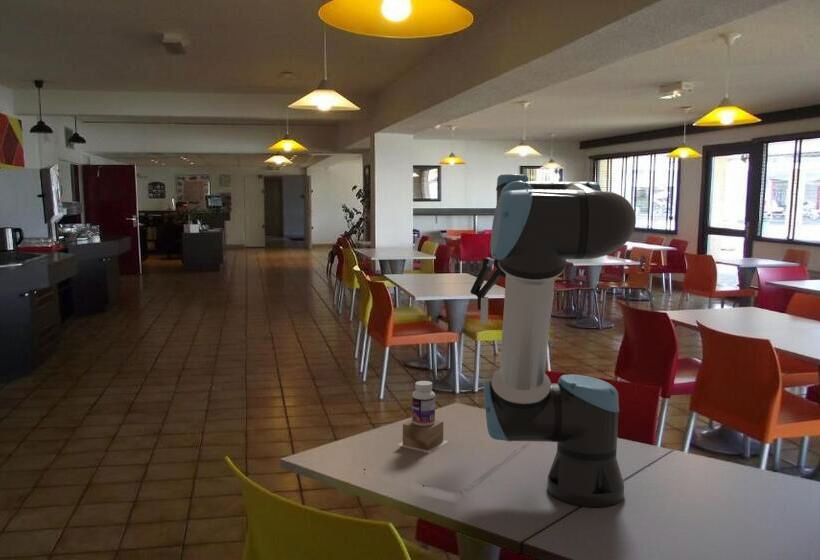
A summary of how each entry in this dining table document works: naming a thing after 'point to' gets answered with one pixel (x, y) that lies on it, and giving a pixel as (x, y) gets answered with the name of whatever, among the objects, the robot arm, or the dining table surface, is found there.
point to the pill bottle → (423, 404)
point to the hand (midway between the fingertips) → (509, 325)
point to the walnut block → (423, 435)
